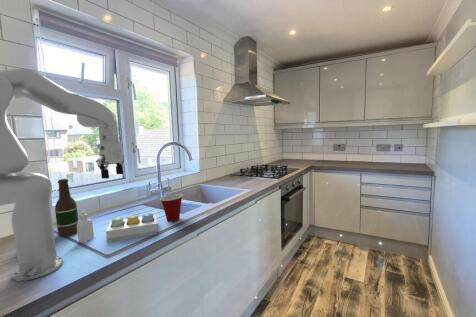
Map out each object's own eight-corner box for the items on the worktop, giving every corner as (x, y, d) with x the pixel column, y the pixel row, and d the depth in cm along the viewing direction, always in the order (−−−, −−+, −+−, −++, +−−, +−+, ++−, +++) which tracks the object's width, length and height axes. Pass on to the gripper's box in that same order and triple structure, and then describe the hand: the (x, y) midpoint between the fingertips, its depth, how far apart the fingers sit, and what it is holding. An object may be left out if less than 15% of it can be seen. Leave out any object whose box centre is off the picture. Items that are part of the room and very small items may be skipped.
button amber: (138, 225, 102) (138, 217, 102) (127, 227, 101) (126, 219, 100) (139, 222, 106) (138, 214, 106) (128, 223, 105) (127, 216, 105)
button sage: (123, 228, 100) (122, 220, 100) (111, 229, 99) (110, 221, 98) (124, 224, 104) (123, 216, 104) (113, 226, 103) (112, 218, 103)
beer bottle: (71, 236, 101) (65, 181, 99) (53, 237, 101) (46, 181, 99) (83, 229, 109) (78, 177, 106) (67, 229, 109) (60, 178, 106)
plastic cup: (168, 215, 124) (167, 192, 122) (187, 216, 121) (186, 193, 120) (156, 223, 113) (154, 198, 112) (177, 224, 111) (175, 199, 109)
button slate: (153, 223, 104) (152, 215, 104) (142, 225, 103) (142, 217, 102) (153, 220, 108) (152, 212, 108) (143, 221, 107) (142, 214, 107)
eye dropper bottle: (77, 240, 98) (74, 211, 96) (93, 235, 101) (90, 208, 100) (79, 243, 95) (75, 214, 93) (95, 239, 98) (92, 211, 97)
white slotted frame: (157, 233, 102) (156, 223, 101) (107, 242, 95) (106, 231, 95) (156, 223, 113) (156, 214, 112) (111, 230, 106) (110, 220, 106)
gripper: (102, 139, 98) (107, 180, 100) (128, 137, 115) (131, 172, 117) (86, 139, 99) (91, 180, 101) (114, 138, 116) (117, 172, 118)
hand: (112, 176), depth 109 cm, fingers open, 9 cm apart
